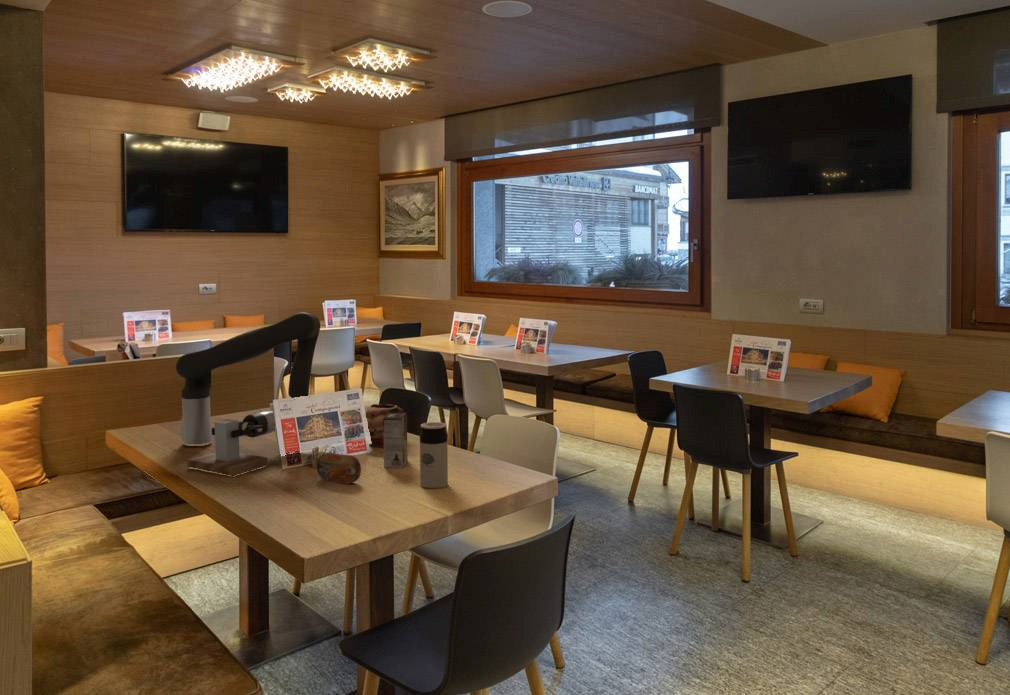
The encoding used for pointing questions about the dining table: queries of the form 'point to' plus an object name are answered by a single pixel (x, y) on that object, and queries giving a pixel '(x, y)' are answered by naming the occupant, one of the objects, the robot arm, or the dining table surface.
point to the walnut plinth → (228, 463)
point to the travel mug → (433, 455)
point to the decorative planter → (379, 421)
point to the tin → (338, 468)
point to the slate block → (226, 440)
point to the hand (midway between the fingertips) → (221, 433)
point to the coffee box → (395, 440)
